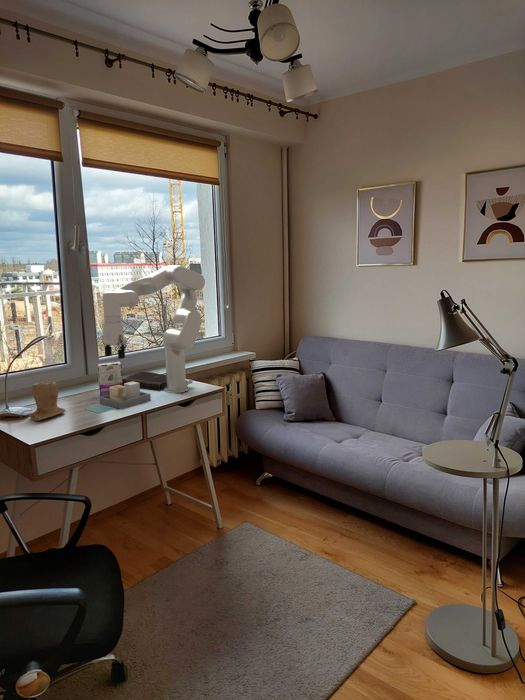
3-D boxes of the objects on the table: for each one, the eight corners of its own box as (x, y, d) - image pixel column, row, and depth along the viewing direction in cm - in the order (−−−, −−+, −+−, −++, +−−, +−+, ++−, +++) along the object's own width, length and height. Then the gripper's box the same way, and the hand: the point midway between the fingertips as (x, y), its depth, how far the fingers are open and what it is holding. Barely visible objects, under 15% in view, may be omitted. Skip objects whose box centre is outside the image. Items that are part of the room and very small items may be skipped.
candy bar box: (122, 393, 248) (120, 361, 245) (124, 396, 243) (121, 363, 240) (99, 395, 244) (96, 363, 241) (100, 398, 239) (97, 365, 236)
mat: (100, 406, 227) (100, 404, 227) (114, 410, 221) (114, 408, 221) (85, 410, 221) (85, 409, 221) (98, 414, 215) (98, 413, 215)
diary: (159, 393, 250) (158, 383, 249) (120, 388, 261) (119, 378, 260) (180, 384, 267) (180, 375, 266) (142, 379, 277) (142, 370, 276)
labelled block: (119, 401, 232) (118, 384, 231) (126, 403, 229) (125, 386, 228) (110, 404, 229) (109, 386, 227) (117, 406, 225) (116, 388, 224)
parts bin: (131, 395, 243) (130, 388, 243) (150, 401, 235) (150, 393, 234) (100, 404, 230) (99, 397, 229) (119, 410, 221) (119, 402, 220)
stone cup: (51, 409, 223) (48, 377, 220) (69, 413, 217) (67, 380, 214) (21, 419, 209) (17, 385, 207) (40, 424, 204) (36, 388, 201)
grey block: (133, 397, 239) (132, 381, 237) (140, 399, 236) (139, 383, 234) (124, 400, 235) (123, 383, 233) (131, 401, 232) (130, 385, 230)
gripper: (94, 318, 224) (96, 356, 227) (117, 321, 214) (119, 360, 217) (108, 317, 230) (110, 353, 233) (131, 319, 219) (133, 358, 223)
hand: (115, 356), depth 225 cm, fingers open, 9 cm apart
